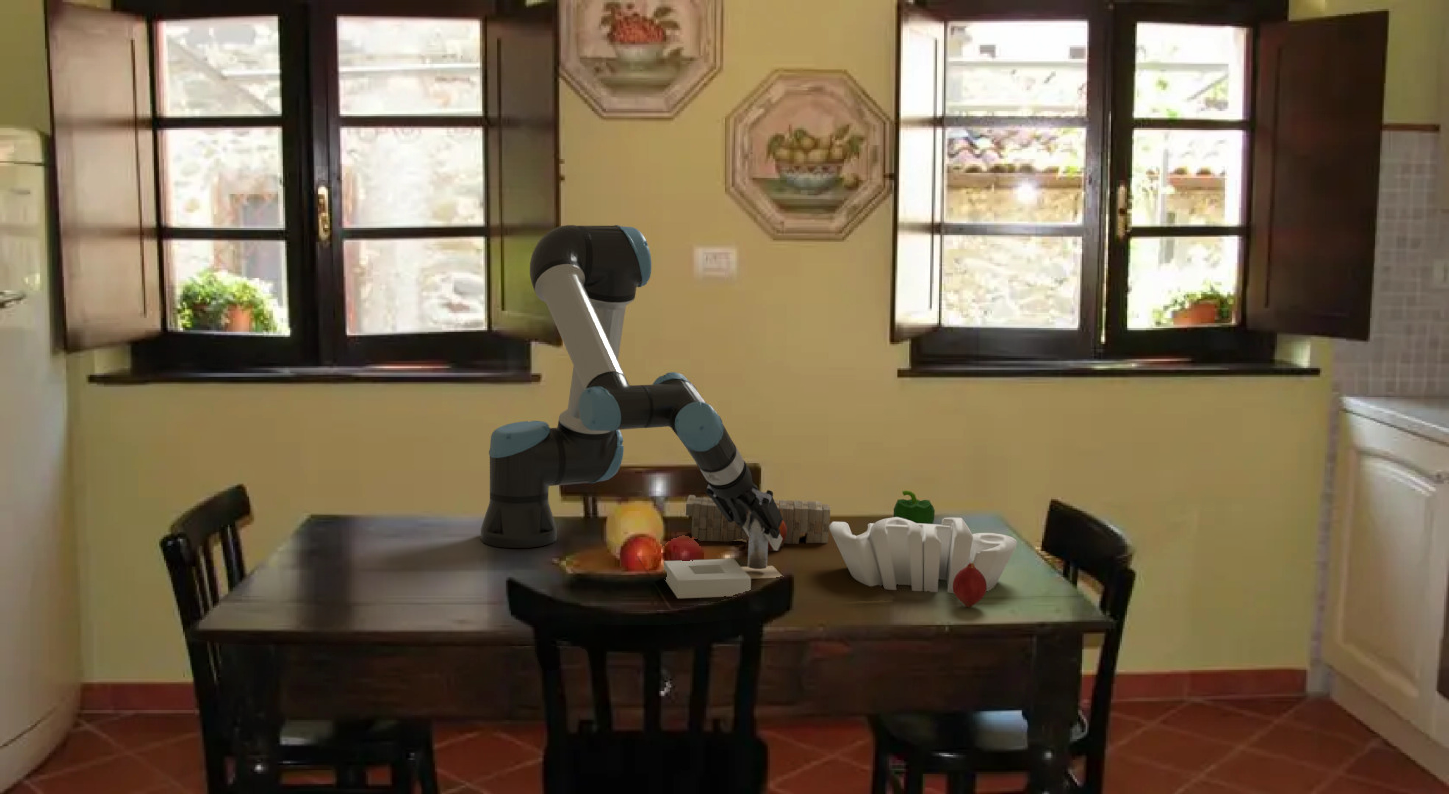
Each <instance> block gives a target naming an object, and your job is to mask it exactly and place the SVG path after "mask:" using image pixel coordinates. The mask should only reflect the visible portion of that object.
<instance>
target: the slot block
mask: <svg viewBox="0 0 1449 794" xmlns="http://www.w3.org/2000/svg"><path fill="white" fill-rule="evenodd" d="M692 560H693V561H692ZM663 561H664V562H663V570H664V569H665V571H666V572H667V577H666V580H665V582H666V583H667V585H668V587H669V588H670V589H671V591H672V593H673V594H674V596H675V597H676V598H677V599H694V598H695V599H697V598H699V599H701V598H722V597H723V598H725V597H724V596H726V597H734V596H733V595H735V594H738V593H743V592H745V591H749V590H751V589H752V587H751V586H752V579H751V578H750V576H749V575H748V574H747V573H746V572H745V571H744V570H743V569H742V568H741V567H742V566H741V565H740V564H739V563H738V562H737V561H736V560H735V559H734V558H720V559H716V558H715V559H690V561H682V560H663Z"/></svg>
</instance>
